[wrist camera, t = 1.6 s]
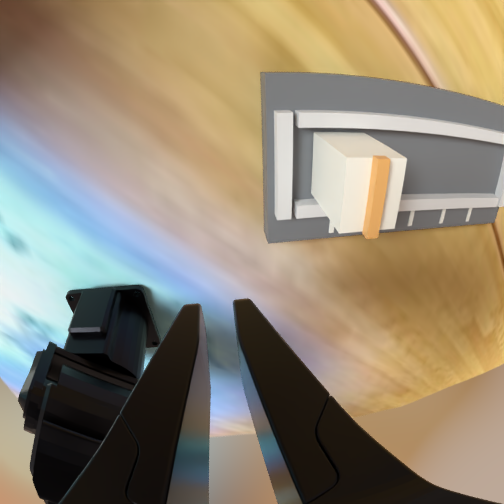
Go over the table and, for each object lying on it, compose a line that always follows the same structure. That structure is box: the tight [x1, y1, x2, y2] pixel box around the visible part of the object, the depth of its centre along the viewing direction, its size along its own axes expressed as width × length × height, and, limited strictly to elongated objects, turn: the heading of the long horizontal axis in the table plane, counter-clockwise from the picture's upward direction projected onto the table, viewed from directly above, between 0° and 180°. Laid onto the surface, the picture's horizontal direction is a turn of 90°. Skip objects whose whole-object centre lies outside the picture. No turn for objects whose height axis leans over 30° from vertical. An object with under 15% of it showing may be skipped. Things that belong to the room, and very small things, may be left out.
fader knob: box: [311, 132, 407, 239], centre depth 15 cm, size 4×3×5 cm
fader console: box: [260, 72, 504, 243], centre depth 18 cm, size 10×20×2 cm, turn 92°
